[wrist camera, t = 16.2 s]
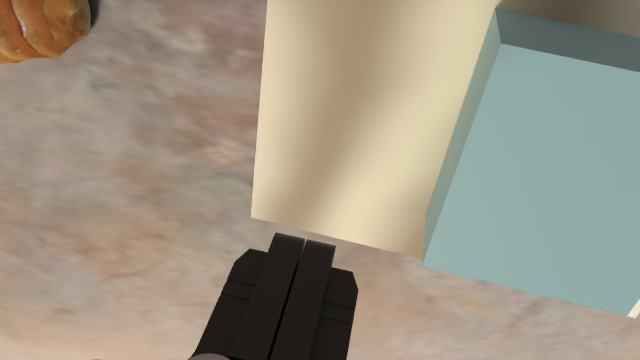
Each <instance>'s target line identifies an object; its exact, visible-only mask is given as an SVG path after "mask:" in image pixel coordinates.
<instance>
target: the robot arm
mask: <svg viewBox="0 0 640 360" xmlns="http://www.w3.org/2000/svg"><path fill="white" fill-rule="evenodd" d="M304 245H305V247H304ZM335 248H336V246H335V245H330V244H326V243H321V242H317V241H313V240H308V239H307V241H306V244H305V239H303V238H299V237H294V236H290V235H285V234H281V233H277V232H276V233H275V235H274V237H273V240H272V242H271V245H270V248H269V250H268V253H267V252H263V251H258V250H254V249H249V250H248V251H246V252H245V253H244V254H243V255H242V256H241V257H240V258H239V259H237V260H236V261H235V263H234V265H233V267H232V269H231V272H230V274H229V276H228V278H227V282H226V283H225V285H224V287H223V290H222V292H221V296H219V299H218V301H217V303H216V306H215V308H214V310H213V312H212V315H211V317H210V319H209V321H208V324H207V326H206V328H205V330H204V333H203V335H202V337H201V339H200V342H199V344H198V346H197V348H196V350H195V352H194V353H193V355H192V356H191V357H190V358H189V359H188V360H346V358H347V353H348V347H349V341H350V335H351V329H352V324H353V318H354V311H355V306H356V300H357V295H358V288H357V285H356V282H355V278H354V275H353V272H350V271H346V270H342V269H337V268H333V267H332V263H333V258H334V253H335Z"/></svg>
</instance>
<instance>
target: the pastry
mask: <svg viewBox="0 0 640 360" xmlns="http://www.w3.org/2000/svg"><path fill="white" fill-rule="evenodd" d="M90 21H91V14H90V6H89V2H88V0H0V64H2V63H19V62H22V61H24V60H29V59H33V58H55V57H59V56H60V55H62V54H63V53H64V52H65V51H66V50H67V49H68V48H69V47H70V46H72V45H73V44H75V43H77V42H78V41H80V40H81V39H83V38H84V37H86V36H87V35H88V33H89V32H90V30H91V23H90Z"/></svg>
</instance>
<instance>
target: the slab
mask: <svg viewBox="0 0 640 360" xmlns="http://www.w3.org/2000/svg"><path fill="white" fill-rule="evenodd" d="M422 266H425V267H429V268H433V269H438V270H442V271H446V272H450V273H454V274H458V275H462V276H466V277H470V278H474V279H478V280H482V281H486V282H490V283H495V284H499V285H503V286H507V287H511V288H515V289H519V290H523V291H527V292H531V293H535V294H539V295H543V296H547V297H552V298H556V299H560V300H564V301H568V302H572V303H576V304H580V305H584V306H588V307H592V308H596V309H600V310H604V311H609V312H613V313H617V314H621V315H625V316H629V317H633V318H636V316H637V315H638V314H639V312H640V38H639V37H634V36H629V35H624V34H619V33H614V32H609V31H604V30H600V29H595V28H590V27H585V26H580V25H575V24H570V23H565V22H560V21H555V20H551V19H546V18H541V17H536V16H531V15H526V14H521V13H516V12H511V11H506V10H501V9H497V8H495V9H494V12H493V15H492V18H491V21H490V24H489V26H488V29H487V32H486V35H485V38H484V41H483V44H482V47H481V50H480V53H479V56H478V59H477V62H476V65H475V68H474V71H473V74H472V77H471V80H470V83H469V86H468V89H467V92H466V95H465V98H464V101H463V104H462V107H461V110H460V113H459V116H458V119H457V122H456V125H455V128H454V131H453V134H452V137H451V140H450V143H449V146H448V149H447V152H446V155H445V158H444V161H443V164H442V167H441V170H440V173H439V176H438V179H437V182H436V185H435V188H434V191H433V194H432V196H431V199H430V202H429V205H428V208H427V211H426V216H425V230H424V243H423V257H422Z"/></svg>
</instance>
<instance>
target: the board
mask: <svg viewBox="0 0 640 360" xmlns="http://www.w3.org/2000/svg"><path fill="white" fill-rule="evenodd" d="M495 8H497V9H501V10H506V11H511V12H516V13H521V14H526V15H531V16H536V17H541V18H546V19H551V20H555V21H560V22H565V23H570V24H575V25H580V26H585V27H590V28H595V29H600V30H604V31H609V32H614V33H619V34H624V35H629V36H634V37H639V38H640V0H268V3H267V16H266V28H265V41H264V54H263V67H262V80H261V93H260V105H259V118H258V131H257V144H256V157H255V170H254V182H253V195H252V208H251V217H252V218H256V219H260V220H264V221H268V222H272V223H276V224H281V225H285V226H289V227H293V228H297V229H301V230H305V231H309V232H314V233H318V234H322V235H326V236H330V237H334V238H338V239H342V240H347V241H351V242H355V243H359V244H363V245H367V246H371V247H375V248H380V249H384V250H388V251H392V252H396V253H400V254H404V255H408V256H413V257H417V258H421V259H422V257H423V243H424V230H425V216H426V211H427V208H428V205H429V202H430V199H431V196H432V194H433V191H434V188H435V185H436V182H437V179H438V176H439V173H440V170H441V167H442V164H443V161H444V158H445V155H446V152H447V149H448V146H449V143H450V140H451V137H452V134H453V131H454V128H455V125H456V122H457V119H458V116H459V113H460V110H461V107H462V104H463V101H464V98H465V95H466V92H467V89H468V86H469V83H470V80H471V77H472V74H473V71H474V68H475V65H476V62H477V59H478V56H479V53H480V50H481V47H482V44H483V41H484V38H485V35H486V32H487V29H488V26H489V24H490V21H491V18H492V15H493V12H494V9H495Z"/></svg>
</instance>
